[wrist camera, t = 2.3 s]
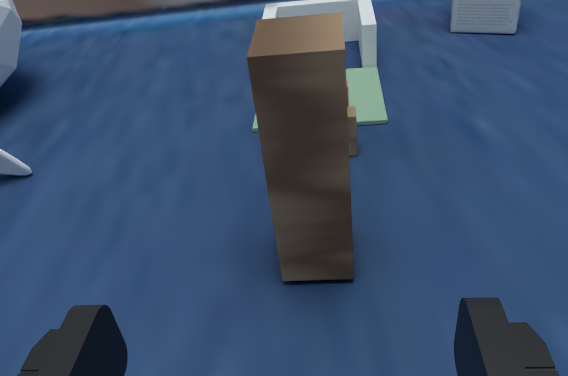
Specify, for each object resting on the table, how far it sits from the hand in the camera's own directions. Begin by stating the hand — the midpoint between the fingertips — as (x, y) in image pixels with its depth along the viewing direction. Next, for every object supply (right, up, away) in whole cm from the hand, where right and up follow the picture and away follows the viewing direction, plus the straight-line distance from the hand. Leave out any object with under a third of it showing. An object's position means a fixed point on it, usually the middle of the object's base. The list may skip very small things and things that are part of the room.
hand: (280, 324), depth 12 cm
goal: (+3, +16, +37) cm, 41 cm away
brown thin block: (+2, +3, +20) cm, 20 cm away
